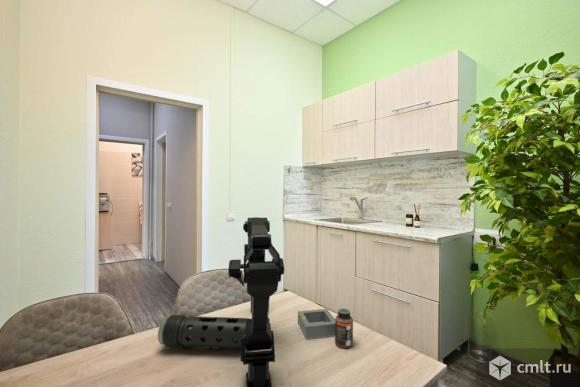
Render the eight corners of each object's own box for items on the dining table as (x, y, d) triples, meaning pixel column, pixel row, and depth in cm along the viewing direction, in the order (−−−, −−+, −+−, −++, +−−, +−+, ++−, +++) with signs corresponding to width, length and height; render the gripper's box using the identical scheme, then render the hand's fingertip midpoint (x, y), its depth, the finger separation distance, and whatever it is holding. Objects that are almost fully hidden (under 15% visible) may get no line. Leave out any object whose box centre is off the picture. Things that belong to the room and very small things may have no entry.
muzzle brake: (244, 359, 82) (244, 326, 82) (156, 355, 84) (156, 322, 84) (250, 342, 92) (250, 312, 91) (171, 338, 93) (171, 309, 93)
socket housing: (338, 336, 95) (338, 322, 95) (305, 339, 93) (305, 326, 93) (326, 319, 107) (326, 308, 107) (297, 322, 105) (297, 310, 105)
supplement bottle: (354, 349, 87) (354, 315, 87) (335, 348, 88) (335, 314, 88) (351, 339, 93) (351, 307, 93) (334, 338, 94) (334, 306, 94)
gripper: (282, 235, 97) (280, 267, 104) (229, 236, 94) (231, 269, 102) (285, 255, 87) (283, 289, 94) (227, 257, 85) (229, 292, 92)
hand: (256, 284), depth 96 cm, fingers open, 9 cm apart
